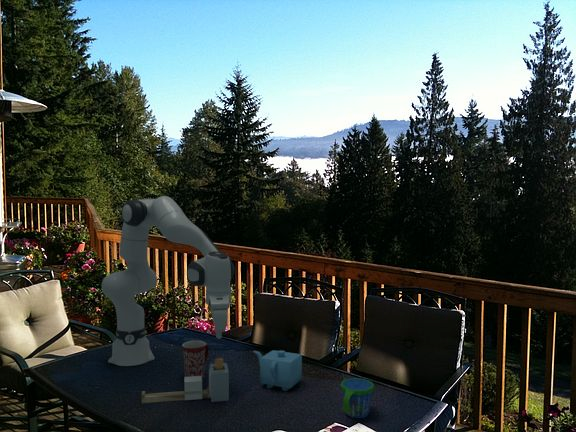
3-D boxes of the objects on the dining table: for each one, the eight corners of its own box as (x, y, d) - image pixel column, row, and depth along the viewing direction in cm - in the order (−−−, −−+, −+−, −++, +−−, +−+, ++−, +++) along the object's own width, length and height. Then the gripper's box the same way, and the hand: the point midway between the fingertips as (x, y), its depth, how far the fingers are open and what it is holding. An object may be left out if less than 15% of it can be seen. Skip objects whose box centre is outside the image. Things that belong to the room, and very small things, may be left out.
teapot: (304, 380, 201) (304, 347, 200) (287, 395, 187) (287, 359, 186) (262, 373, 209) (262, 341, 208) (243, 387, 194) (242, 353, 194)
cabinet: (208, 390, 191) (208, 363, 190) (226, 389, 192) (226, 362, 192) (210, 402, 181) (210, 373, 181) (228, 400, 182) (228, 372, 182)
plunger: (214, 372, 187) (214, 358, 187) (223, 371, 188) (222, 357, 188) (215, 375, 185) (214, 361, 184) (223, 374, 185) (223, 360, 185)
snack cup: (357, 427, 162) (358, 395, 162) (329, 417, 169) (330, 386, 168) (383, 411, 174) (383, 380, 174) (356, 402, 181) (356, 373, 180)
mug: (195, 384, 197) (195, 349, 196) (177, 379, 202) (177, 345, 201) (217, 374, 208) (216, 340, 207) (199, 369, 213) (199, 336, 212)
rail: (142, 399, 183) (142, 391, 183) (210, 394, 188) (210, 386, 187) (141, 403, 180) (141, 394, 180) (210, 397, 185) (210, 389, 185)
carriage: (184, 394, 187) (184, 376, 186) (201, 393, 188) (201, 375, 188) (184, 400, 182) (184, 382, 182) (202, 398, 183) (202, 380, 183)
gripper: (207, 292, 194) (208, 329, 195) (210, 305, 174) (211, 346, 175) (225, 292, 195) (225, 328, 196) (230, 304, 175) (230, 345, 176)
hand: (218, 337), depth 185 cm, fingers closed
